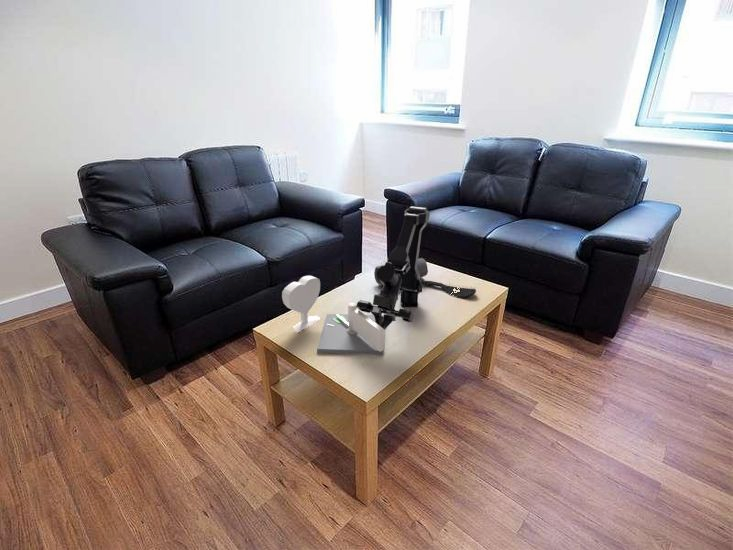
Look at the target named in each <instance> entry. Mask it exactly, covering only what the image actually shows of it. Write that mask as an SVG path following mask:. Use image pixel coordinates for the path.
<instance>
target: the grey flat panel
mask: <svg viewBox="0 0 733 550" xmlns="http://www.w3.org/2000/svg"><path fill="white" fill-rule="evenodd" d="M337 314H338V315H339V316H340V317H342V318H343V319H344V320H345V321H346V322H348V313H347V314H346V313H345V314H344V313H326V316H325V320H324V323H323V326H322V330H321V334H320V336H319V340H318V343H317V348H316V352H317V353H320V354H321V353H322V354H325V353H326V354H352V355H353V354H354V355H355V354H356V355H357V354H359V355H384V350H383V351H381V352H380V351H378V350H377V349H376V348H375V347H374V346H372V345H371V344H370V343H369V342H368V341H366V340H365V339H364V338H363V337H362V336H360V335H359V334H358V333H357V332H356V331H354V332H351V331H349V327H348V326H347V325H346V324H345V323H344V322H342V321H341V320H340V319H339V318H338V317H336V315H337ZM365 315H366V316H367V317H369V318H370V319H371V320H373V321H374V322H375V317H374V315H373V314H365ZM382 316H383V317H384V314H382ZM375 323H376V322H375Z"/></svg>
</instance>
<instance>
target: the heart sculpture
mask: <svg viewBox="0 0 733 550" xmlns="http://www.w3.org/2000/svg"><path fill="white" fill-rule="evenodd" d="M320 291H321V281H320V278H317V277H315V276H313V275H304V276H302V277H301V278H300V279H299V280H298V281H292V282H290V283H289V284H288V285H286V286H285V287H284V289H283V290H282V292H281V299H282V303H283V304H284V305H285V307H286V308H288V309H290V310H291V311H292V310H293V311H294V312H298V313H300V320H301V322H300V321H299V322H297V323H298V324H297V323H296V325H295V324H294V325H295V326H294V325H292V326H293V328H294V329H295V330H296V331H301V330H303V329H304V330H306V329H308V328H309V327H311V326H312V325H314V324H315V323H317V322H319V321H320V320H321V317H320V316H318V315H315V316H310V315H309V316H308V314H309V312H310V310H311V309H312V307H313V306H314V304H315V303H316V301H317V300H318V298H319V294H320ZM318 320H319V321H318ZM313 323H314V324H313ZM308 326H309V327H308ZM305 328H306V329H305ZM304 330H303V331H304ZM301 332H302V331H301Z"/></svg>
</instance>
